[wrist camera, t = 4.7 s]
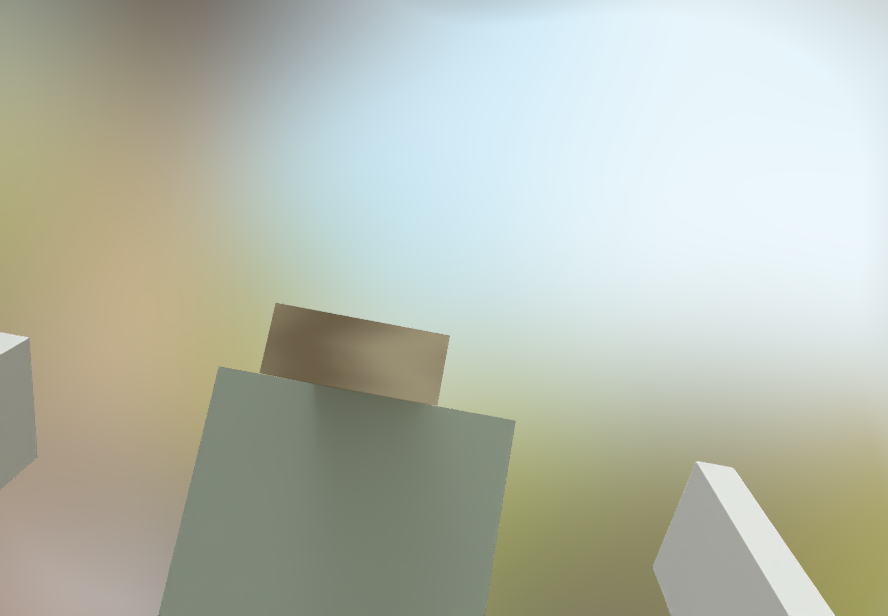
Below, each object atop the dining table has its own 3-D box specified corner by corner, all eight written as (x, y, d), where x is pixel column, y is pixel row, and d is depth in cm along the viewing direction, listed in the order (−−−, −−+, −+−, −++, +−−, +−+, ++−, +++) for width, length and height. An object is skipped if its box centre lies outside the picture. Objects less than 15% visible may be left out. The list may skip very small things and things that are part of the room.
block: (259, 373, 15) (275, 302, 15) (342, 389, 36) (348, 359, 36) (437, 405, 15) (449, 335, 15) (416, 403, 36) (422, 373, 36)
